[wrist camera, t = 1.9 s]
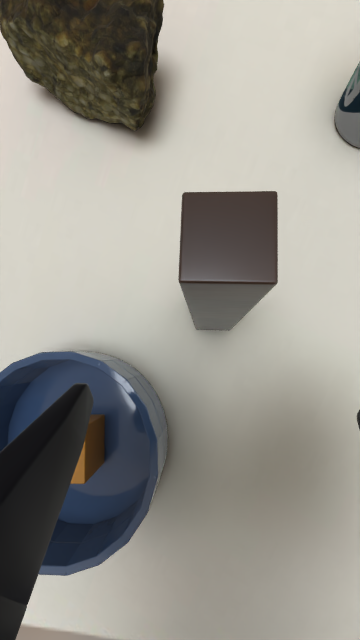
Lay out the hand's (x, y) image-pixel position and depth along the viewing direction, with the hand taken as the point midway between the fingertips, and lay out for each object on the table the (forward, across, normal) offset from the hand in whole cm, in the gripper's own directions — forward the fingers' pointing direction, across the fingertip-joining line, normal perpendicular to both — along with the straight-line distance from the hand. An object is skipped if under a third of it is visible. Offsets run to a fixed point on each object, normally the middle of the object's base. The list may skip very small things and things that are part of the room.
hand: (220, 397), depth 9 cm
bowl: (+5, +9, +12) cm, 16 cm away
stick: (+12, 0, +5) cm, 13 cm away
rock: (+25, +10, -8) cm, 29 cm away
